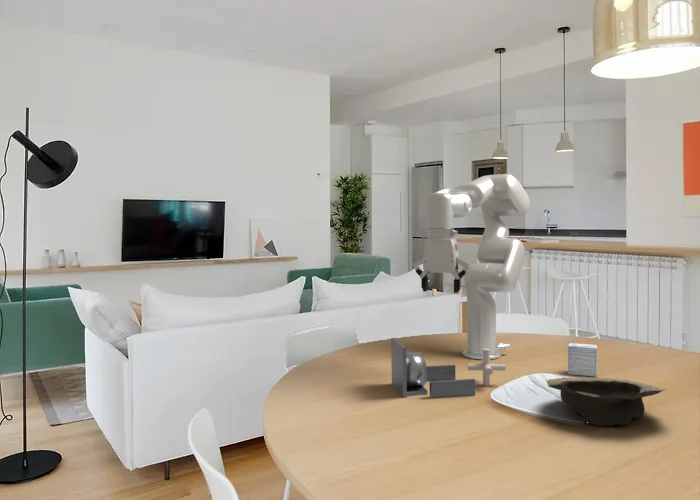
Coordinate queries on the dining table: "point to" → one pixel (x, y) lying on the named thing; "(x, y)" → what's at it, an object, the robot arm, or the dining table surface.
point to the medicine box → (582, 359)
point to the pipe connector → (486, 367)
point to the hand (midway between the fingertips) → (440, 291)
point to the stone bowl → (604, 398)
